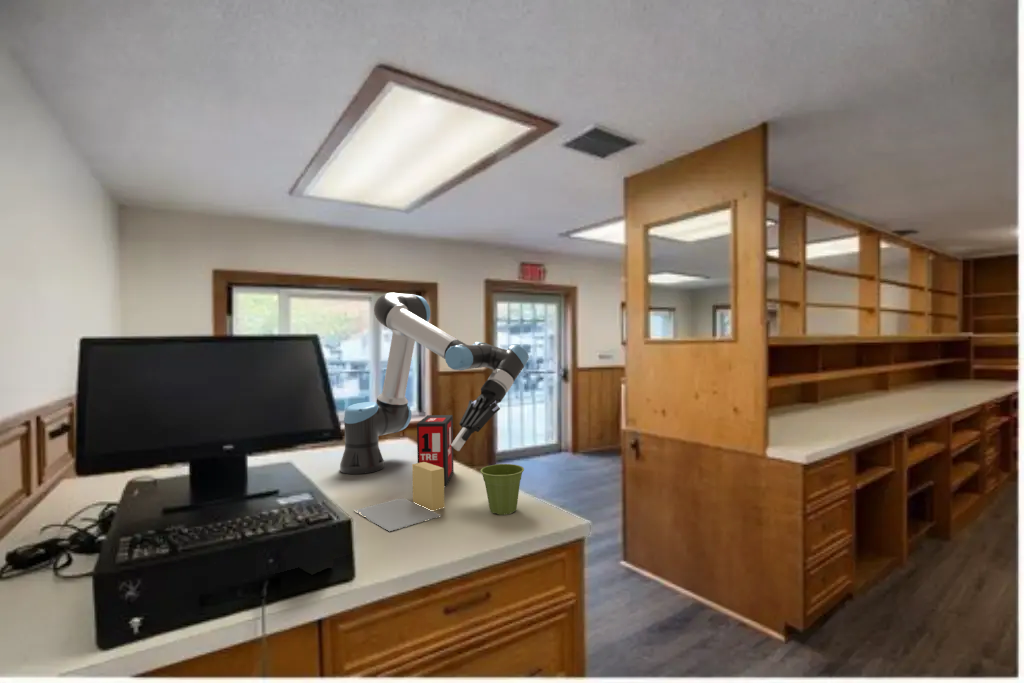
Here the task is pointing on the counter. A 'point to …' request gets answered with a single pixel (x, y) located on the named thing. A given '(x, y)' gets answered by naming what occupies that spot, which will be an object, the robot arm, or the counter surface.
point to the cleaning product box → (436, 442)
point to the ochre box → (428, 485)
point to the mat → (397, 514)
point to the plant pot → (502, 487)
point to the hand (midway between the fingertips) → (454, 448)
